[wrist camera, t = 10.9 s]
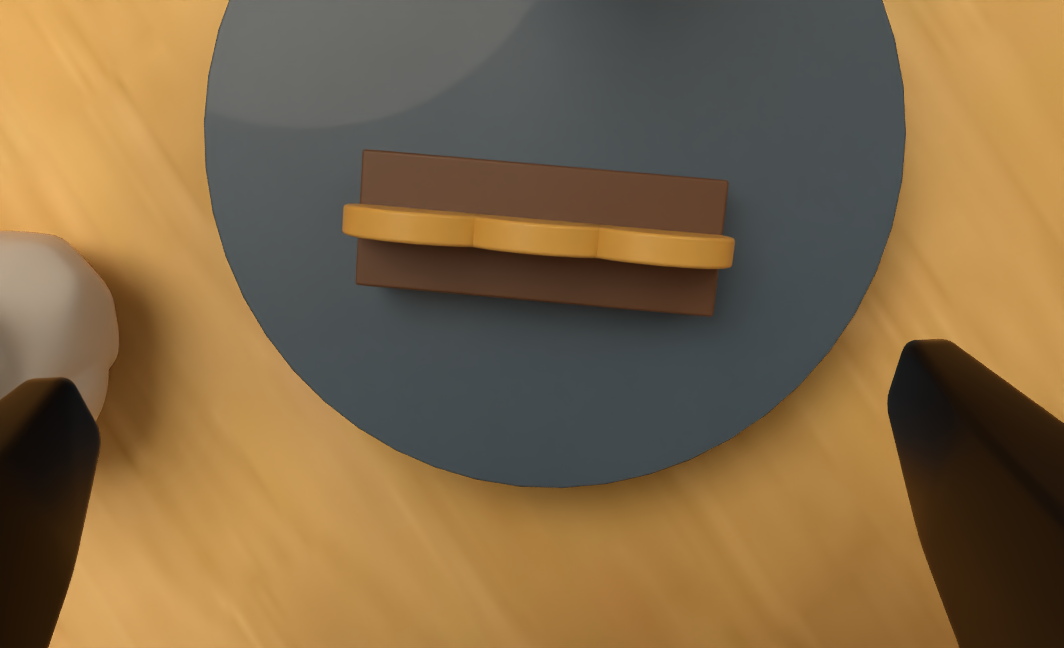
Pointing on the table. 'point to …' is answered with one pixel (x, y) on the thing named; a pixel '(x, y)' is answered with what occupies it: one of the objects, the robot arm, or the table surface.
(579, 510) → the table surface
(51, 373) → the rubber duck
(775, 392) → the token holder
